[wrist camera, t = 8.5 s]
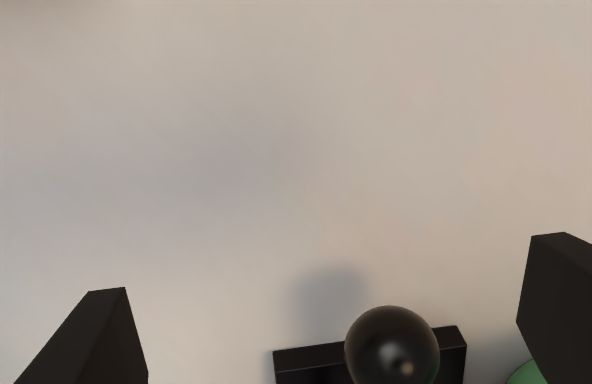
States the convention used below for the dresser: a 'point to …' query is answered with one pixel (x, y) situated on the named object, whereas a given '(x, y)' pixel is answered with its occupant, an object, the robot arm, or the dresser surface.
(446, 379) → the bracket
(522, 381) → the green rounded piece
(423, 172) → the dresser surface
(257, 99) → the dresser surface
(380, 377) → the lever
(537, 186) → the dresser surface
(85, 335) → the robot arm
